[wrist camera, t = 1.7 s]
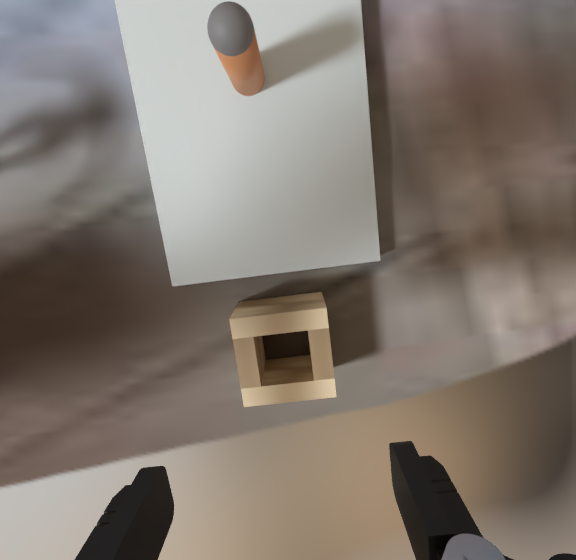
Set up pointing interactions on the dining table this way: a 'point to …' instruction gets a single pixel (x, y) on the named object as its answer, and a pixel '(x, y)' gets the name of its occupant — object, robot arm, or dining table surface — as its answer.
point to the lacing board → (254, 133)
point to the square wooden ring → (291, 370)
